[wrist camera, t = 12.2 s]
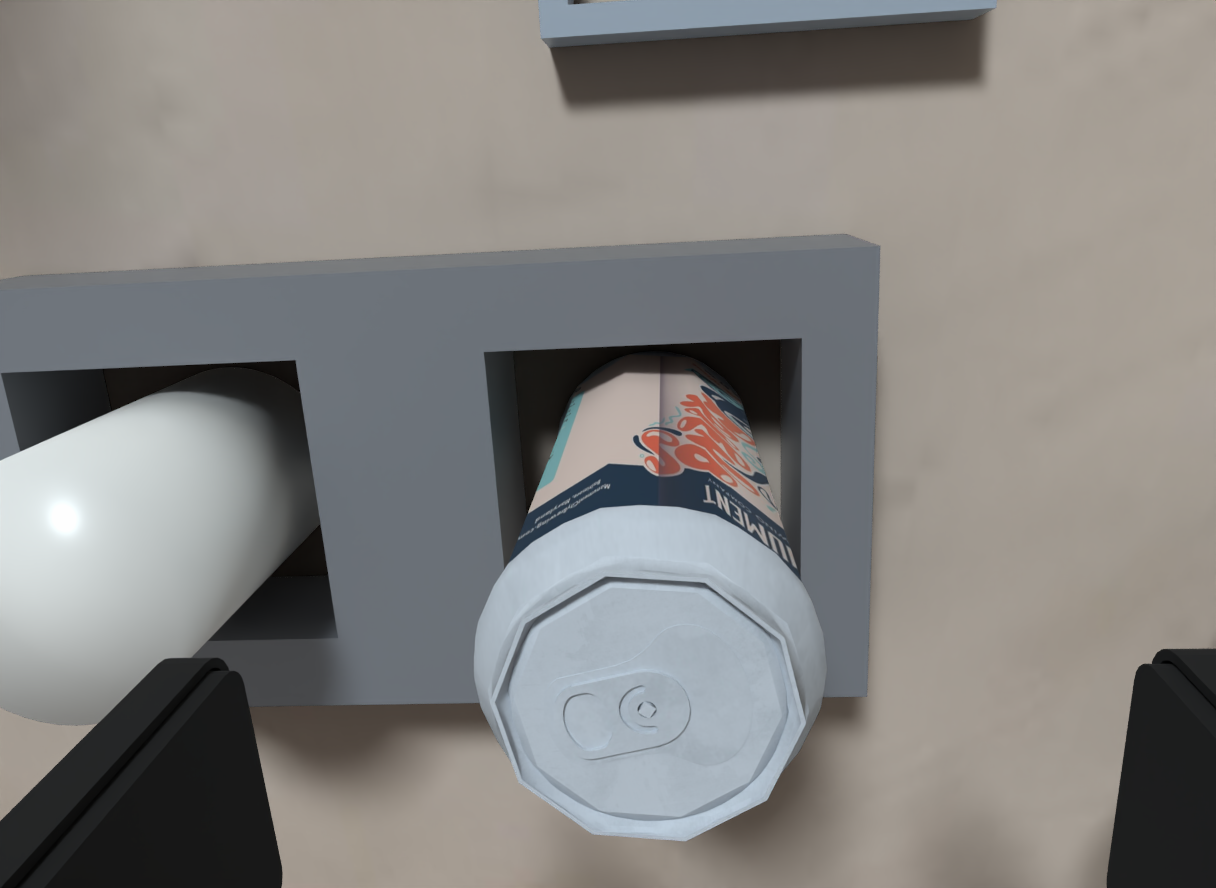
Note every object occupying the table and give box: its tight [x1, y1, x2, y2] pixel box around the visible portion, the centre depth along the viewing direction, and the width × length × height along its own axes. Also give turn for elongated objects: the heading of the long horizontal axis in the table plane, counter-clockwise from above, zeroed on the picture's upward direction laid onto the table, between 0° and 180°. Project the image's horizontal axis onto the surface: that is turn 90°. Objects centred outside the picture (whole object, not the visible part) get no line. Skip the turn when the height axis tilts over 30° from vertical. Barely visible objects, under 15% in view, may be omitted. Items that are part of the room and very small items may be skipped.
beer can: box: [474, 351, 827, 841], centre depth 17 cm, size 5×5×12 cm
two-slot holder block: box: [0, 234, 880, 726], centre depth 20 cm, size 20×10×8 cm, turn 93°
